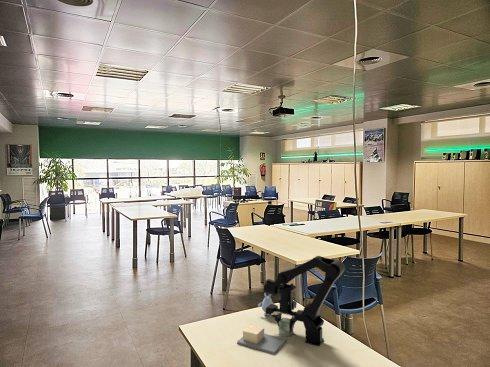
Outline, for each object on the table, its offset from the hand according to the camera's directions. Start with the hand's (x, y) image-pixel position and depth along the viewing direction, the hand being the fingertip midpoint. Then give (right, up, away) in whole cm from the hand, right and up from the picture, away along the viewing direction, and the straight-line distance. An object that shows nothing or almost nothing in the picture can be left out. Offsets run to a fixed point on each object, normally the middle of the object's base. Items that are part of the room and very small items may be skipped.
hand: (286, 330), depth 156 cm
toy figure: (-7, -1, +19) cm, 21 cm away
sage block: (0, -1, 0) cm, 1 cm away
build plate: (-12, -2, -8) cm, 14 cm away
